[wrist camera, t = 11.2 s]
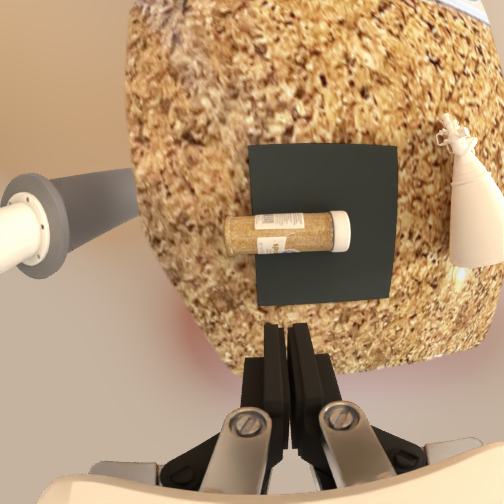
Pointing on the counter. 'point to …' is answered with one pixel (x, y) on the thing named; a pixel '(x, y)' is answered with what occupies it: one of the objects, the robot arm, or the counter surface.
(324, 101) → the counter surface
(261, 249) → the sprinkles bottle
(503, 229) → the rocket engine
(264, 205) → the mat
